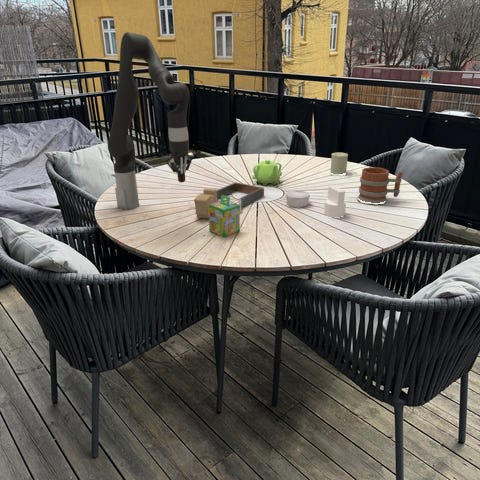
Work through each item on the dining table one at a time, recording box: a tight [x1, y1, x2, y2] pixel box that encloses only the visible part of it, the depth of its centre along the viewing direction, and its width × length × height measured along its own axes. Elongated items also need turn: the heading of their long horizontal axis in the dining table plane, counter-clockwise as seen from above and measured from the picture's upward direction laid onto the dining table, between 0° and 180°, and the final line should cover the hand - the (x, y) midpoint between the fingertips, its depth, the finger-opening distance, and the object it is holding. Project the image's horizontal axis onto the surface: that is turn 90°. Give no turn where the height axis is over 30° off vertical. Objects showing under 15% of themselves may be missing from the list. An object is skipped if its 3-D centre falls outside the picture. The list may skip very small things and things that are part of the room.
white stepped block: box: [323, 185, 347, 217], centre depth 183 cm, size 9×9×12 cm
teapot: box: [252, 159, 283, 187], centre depth 227 cm, size 16×14×13 cm
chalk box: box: [208, 195, 241, 238], centre depth 168 cm, size 9×9×15 cm
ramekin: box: [285, 190, 311, 208], centre depth 197 cm, size 11×11×5 cm
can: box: [330, 152, 349, 174], centre depth 241 cm, size 9×9×12 cm
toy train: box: [193, 188, 219, 220], centre depth 187 cm, size 6×17×10 cm, turn 166°
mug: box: [357, 166, 403, 203], centre depth 198 cm, size 14×19×15 cm
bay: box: [199, 181, 265, 214], centre depth 204 cm, size 26×24×4 cm
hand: (181, 181), depth 170 cm, fingers closed
